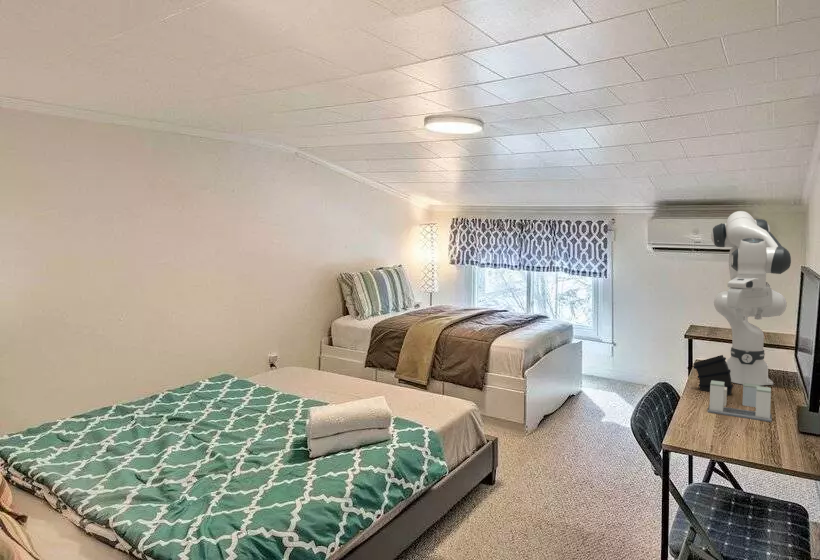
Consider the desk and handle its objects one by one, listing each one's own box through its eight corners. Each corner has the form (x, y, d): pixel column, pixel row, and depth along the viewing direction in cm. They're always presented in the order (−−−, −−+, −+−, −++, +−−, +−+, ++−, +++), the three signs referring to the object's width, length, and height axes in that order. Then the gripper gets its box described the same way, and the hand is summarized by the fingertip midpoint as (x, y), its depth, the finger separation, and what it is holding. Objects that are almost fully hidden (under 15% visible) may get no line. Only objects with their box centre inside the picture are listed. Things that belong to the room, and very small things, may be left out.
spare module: (710, 403, 190) (710, 387, 189) (710, 400, 193) (711, 385, 193) (725, 406, 187) (726, 389, 187) (726, 403, 190) (727, 387, 190)
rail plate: (707, 412, 180) (707, 409, 180) (709, 406, 186) (709, 404, 186) (771, 422, 170) (771, 419, 170) (771, 416, 176) (771, 413, 176)
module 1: (709, 410, 181) (710, 383, 180) (710, 406, 185) (711, 380, 184) (722, 412, 179) (723, 385, 178) (723, 408, 183) (724, 381, 182)
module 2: (742, 405, 188) (743, 385, 187) (742, 402, 191) (743, 382, 190) (758, 407, 185) (759, 387, 184) (758, 404, 188) (759, 384, 187)
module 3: (755, 417, 173) (756, 389, 173) (755, 413, 177) (756, 386, 177) (769, 419, 171) (771, 391, 170) (769, 415, 175) (770, 387, 174)
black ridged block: (740, 392, 197) (721, 355, 200) (704, 401, 205) (687, 365, 209) (741, 390, 200) (723, 354, 203) (706, 399, 208) (690, 363, 211)
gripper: (760, 281, 194) (759, 317, 195) (724, 282, 186) (722, 320, 187) (778, 282, 188) (776, 319, 189) (741, 283, 180) (739, 322, 181)
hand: (749, 320), depth 188 cm, fingers open, 8 cm apart
